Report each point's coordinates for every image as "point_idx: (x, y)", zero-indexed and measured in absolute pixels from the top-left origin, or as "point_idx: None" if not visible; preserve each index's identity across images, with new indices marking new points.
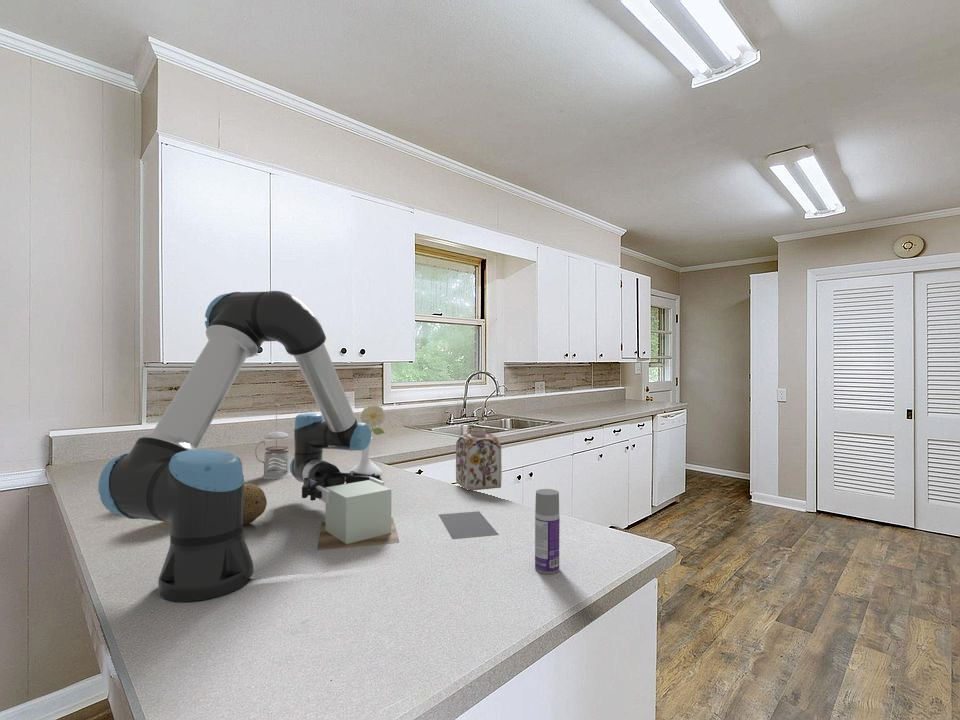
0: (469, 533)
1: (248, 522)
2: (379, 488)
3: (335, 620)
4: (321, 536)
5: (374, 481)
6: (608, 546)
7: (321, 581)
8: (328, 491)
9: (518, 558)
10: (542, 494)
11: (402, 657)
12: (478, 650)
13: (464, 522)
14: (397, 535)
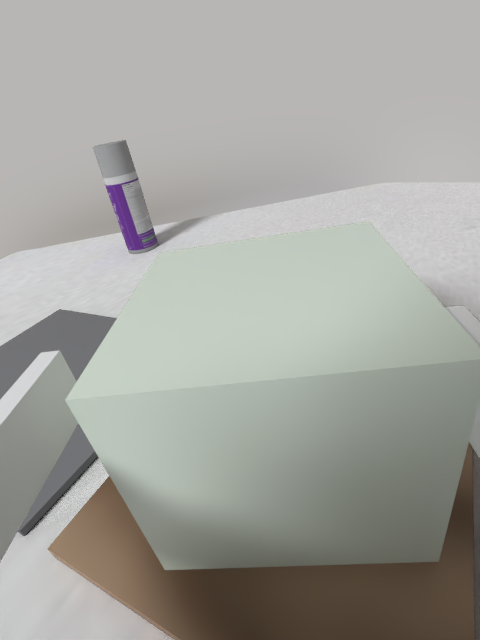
0: (80, 327)
1: None
2: (184, 264)
3: (427, 225)
4: (461, 482)
5: (4, 442)
6: (35, 263)
7: (449, 280)
8: (454, 308)
9: (133, 266)
10: (125, 140)
11: (370, 199)
12: (309, 200)
13: (4, 377)
14: None
